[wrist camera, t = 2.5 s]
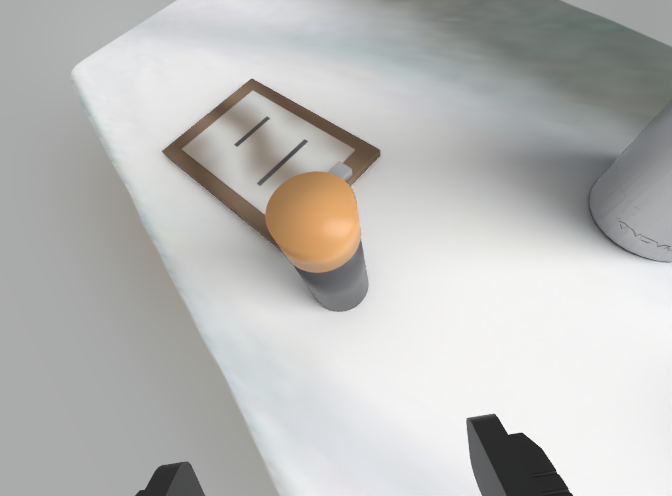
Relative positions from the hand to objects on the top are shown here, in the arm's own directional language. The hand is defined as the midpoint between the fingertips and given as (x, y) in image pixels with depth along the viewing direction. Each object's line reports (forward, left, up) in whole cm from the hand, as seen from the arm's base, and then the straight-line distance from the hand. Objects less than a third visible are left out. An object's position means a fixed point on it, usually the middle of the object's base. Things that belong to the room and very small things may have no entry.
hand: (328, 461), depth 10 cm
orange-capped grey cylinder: (-7, -9, -16) cm, 19 cm away
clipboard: (-13, -25, -16) cm, 32 cm away
